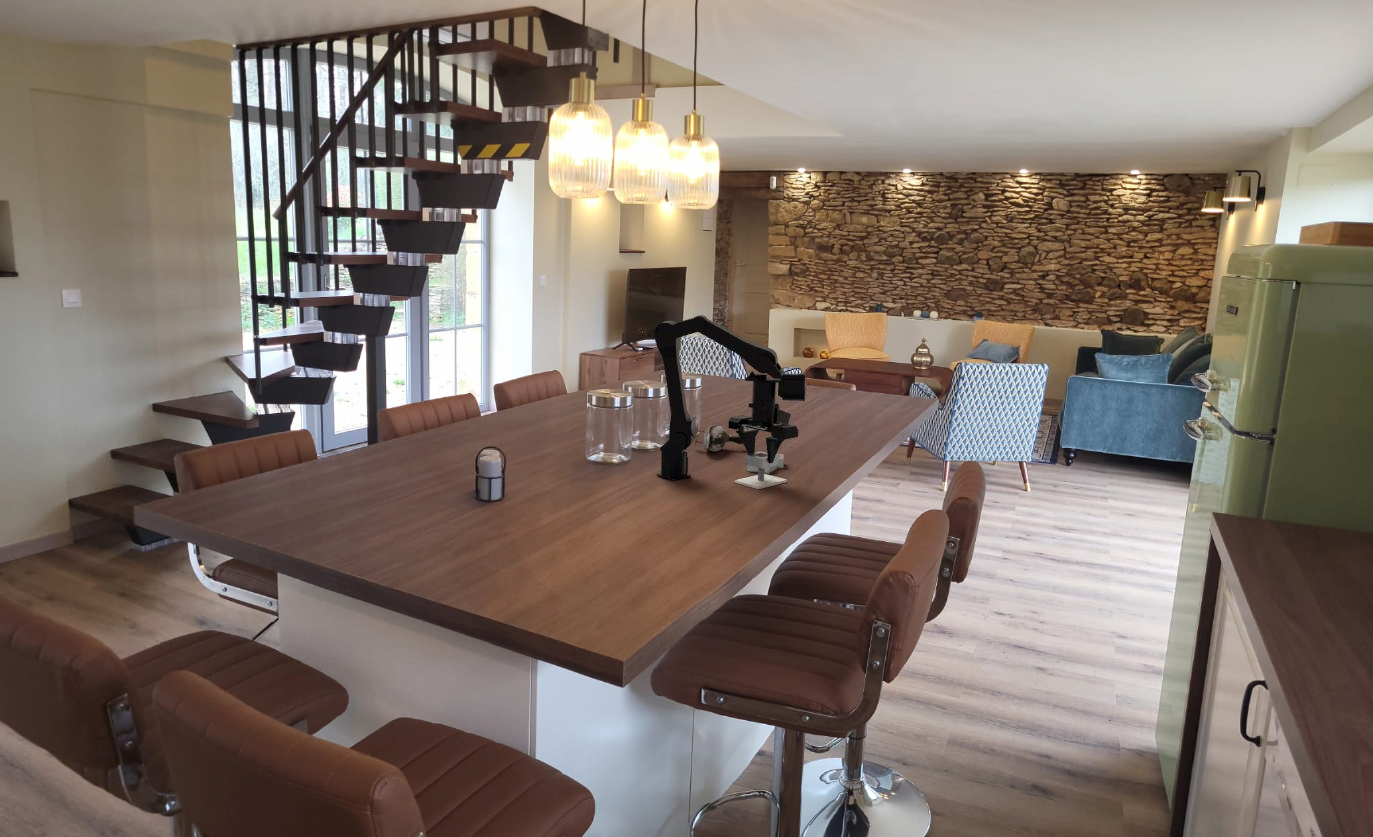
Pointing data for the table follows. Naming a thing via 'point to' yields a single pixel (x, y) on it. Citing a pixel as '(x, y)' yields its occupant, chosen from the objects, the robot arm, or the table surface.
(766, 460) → the end link
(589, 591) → the table surface
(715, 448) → the decorative duck model
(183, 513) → the table surface
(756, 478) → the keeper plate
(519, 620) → the table surface
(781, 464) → the grey square frame
